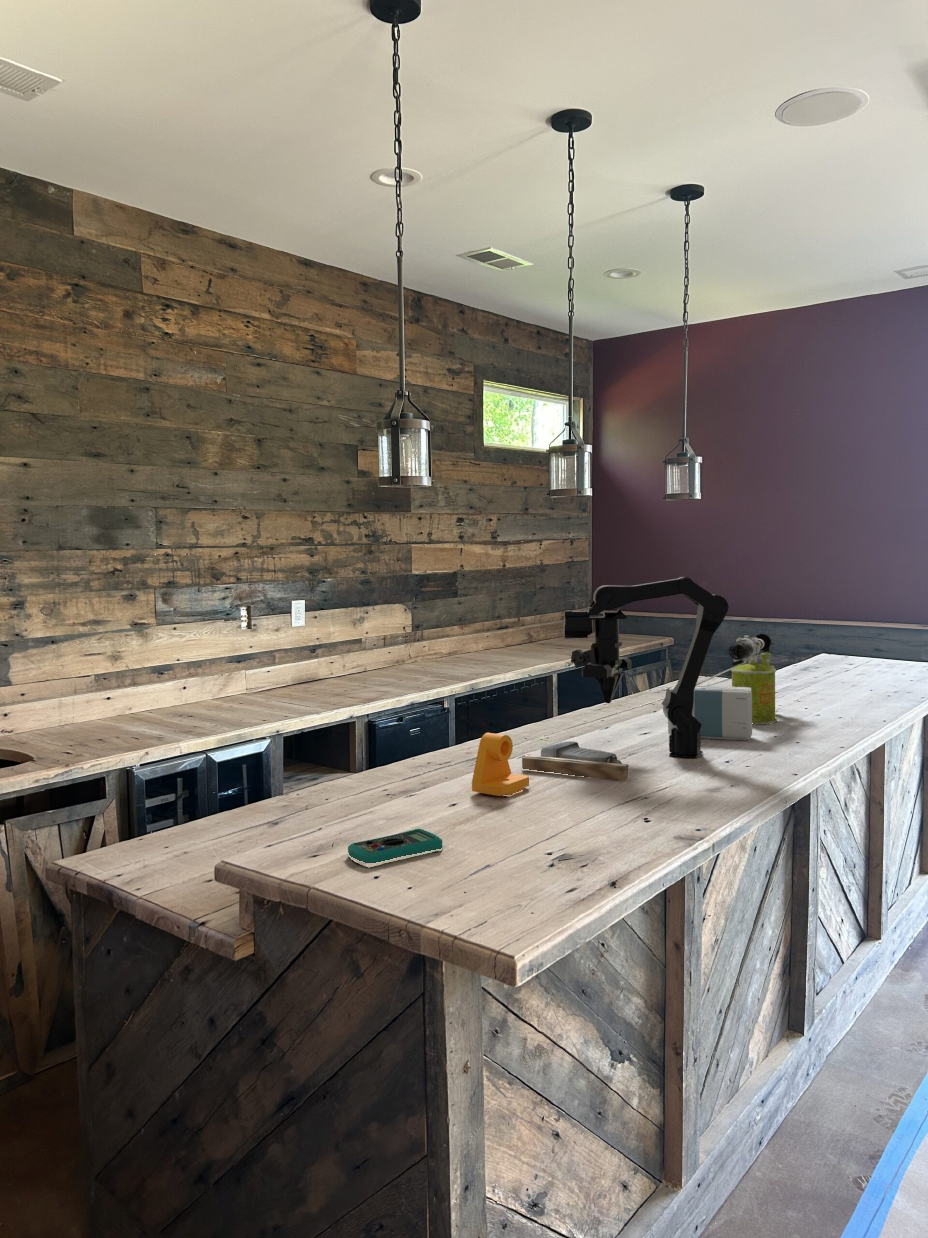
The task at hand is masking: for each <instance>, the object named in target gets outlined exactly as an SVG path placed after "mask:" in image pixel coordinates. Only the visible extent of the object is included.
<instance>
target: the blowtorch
mask: <svg viewBox="0 0 928 1238" xmlns="http://www.w3.org/2000/svg"><path fill="white" fill-rule="evenodd" d="M735 641H736V642H735V643H733V644H732V645H731V646H729V649H728V654H729V657H730V658H731V659H732V660H733V662H731V665H732V668H733V667H735V666H737V665H739V664H741V665H739V666H737V667H736V668H733V669H731V670H730V671H731V687H750V688H751V691H752V723H753V724H760V725H768V724H767V723H773V724H775V723H777V722H778V719H777V718H776V672H777V668H776V667H775V665H771V657H772V653H769V652H770V647H771V646H772V645H774V644H775V642H774V641H773V642H772V639H771V637H770V636H769V635H768V634H766V633H758V634H757V635H756V636H755V637H751V636H750V635H743V637H740V636H739V637H738V638H737V639H736V640H735ZM760 651H762V653H760ZM759 653H760V656H761V662H762V664H760V663H759V661H758V658H757V657H758V654H759ZM743 661H744V662H745V661H746V662H748V663H744V662H743ZM742 663H743V664H742Z"/></svg>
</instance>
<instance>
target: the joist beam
mask: <svg viewBox="0 0 928 1238" xmlns="http://www.w3.org/2000/svg"><path fill="white" fill-rule="evenodd" d="M521 763H522V764H521V769H522V768H523V769H529V770H537V771H544V772H554V773H561V774H568V775H575V776H574V777H577V776H584V777H583V778H587V777H591V778H590V779H596V778H599V780H606V779H607V781H608V780H609V781H614V782H616V781H617V782H625V781H627V780H628V779H629V764H626V763H622V764H617V763H606V762H596V761H585V760H575V759H564V758H554V757H543V756H541V755H530V754H525V755H524V756H522V758H521Z"/></svg>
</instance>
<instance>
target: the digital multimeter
mask: <svg viewBox="0 0 928 1238" xmlns="http://www.w3.org/2000/svg"><path fill="white" fill-rule="evenodd" d="M441 848H442V849H443V839H442V838H440V836H438V835H437V834H434V833H432V832H430V831H427V830H425V829H422V828H416V829H411V830H408V831H403V832H400V833H395V834H391V835H386V836H381V837H375V838H371V839H368V840H363V841H356V842H351V844H349V845H348V846H347V854H348V853H349V855H350V856H351V857H353V858H355V859H357V860H359V861H363V862H365V863H376V862H381V861H385V860H390V859H393V858H397V857H401V856H406V855H412V854H417V853H422V852H425V851H431V850H436V849H441Z"/></svg>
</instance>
